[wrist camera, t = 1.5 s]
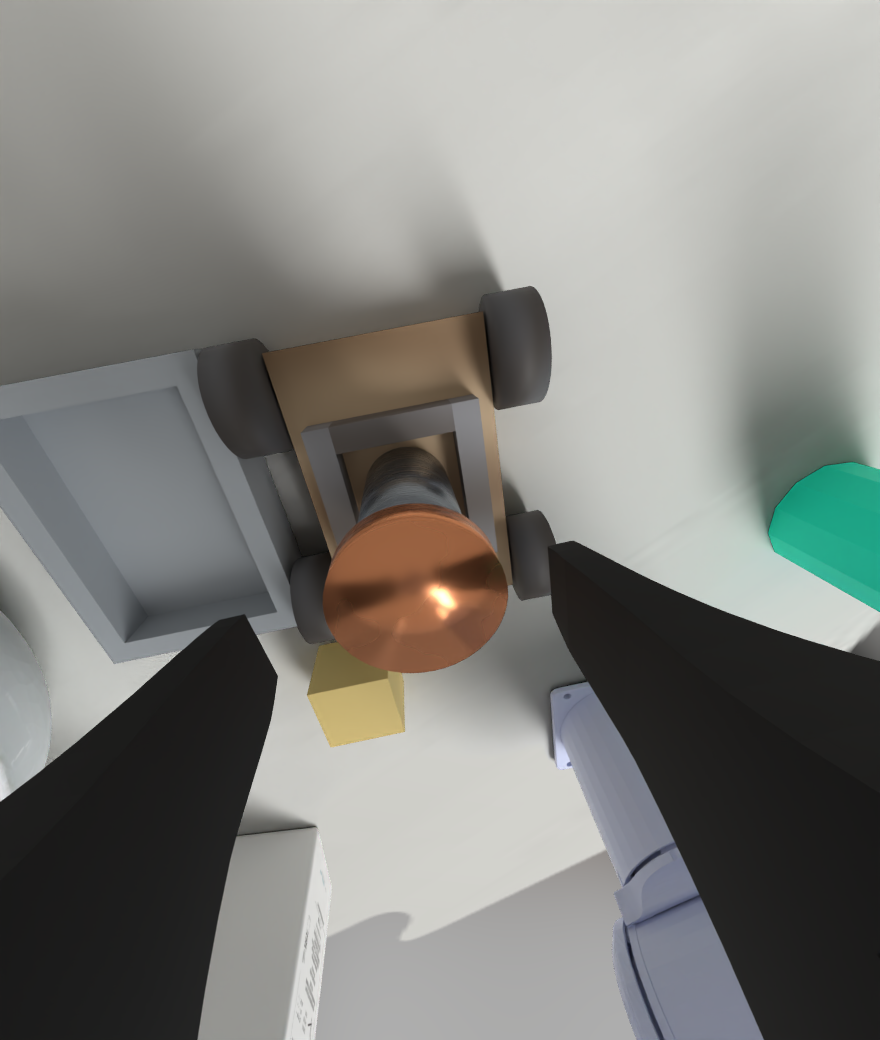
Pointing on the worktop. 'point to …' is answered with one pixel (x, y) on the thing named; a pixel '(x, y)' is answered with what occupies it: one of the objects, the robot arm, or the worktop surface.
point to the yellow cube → (354, 697)
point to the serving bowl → (21, 711)
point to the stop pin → (413, 572)
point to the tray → (143, 506)
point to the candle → (834, 528)
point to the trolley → (392, 423)
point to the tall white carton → (269, 940)
